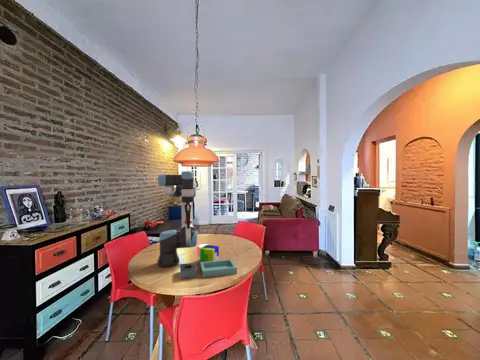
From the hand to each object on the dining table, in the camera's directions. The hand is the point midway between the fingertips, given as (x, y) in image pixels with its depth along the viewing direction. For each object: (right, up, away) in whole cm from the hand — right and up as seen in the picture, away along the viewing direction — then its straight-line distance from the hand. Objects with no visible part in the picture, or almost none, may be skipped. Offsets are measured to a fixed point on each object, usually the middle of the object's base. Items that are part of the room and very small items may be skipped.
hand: (188, 232), depth 148 cm
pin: (0, -8, 0) cm, 8 cm away
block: (0, -27, 0) cm, 27 cm away
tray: (+18, -26, +6) cm, 33 cm away
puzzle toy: (+10, -26, +24) cm, 37 cm away
